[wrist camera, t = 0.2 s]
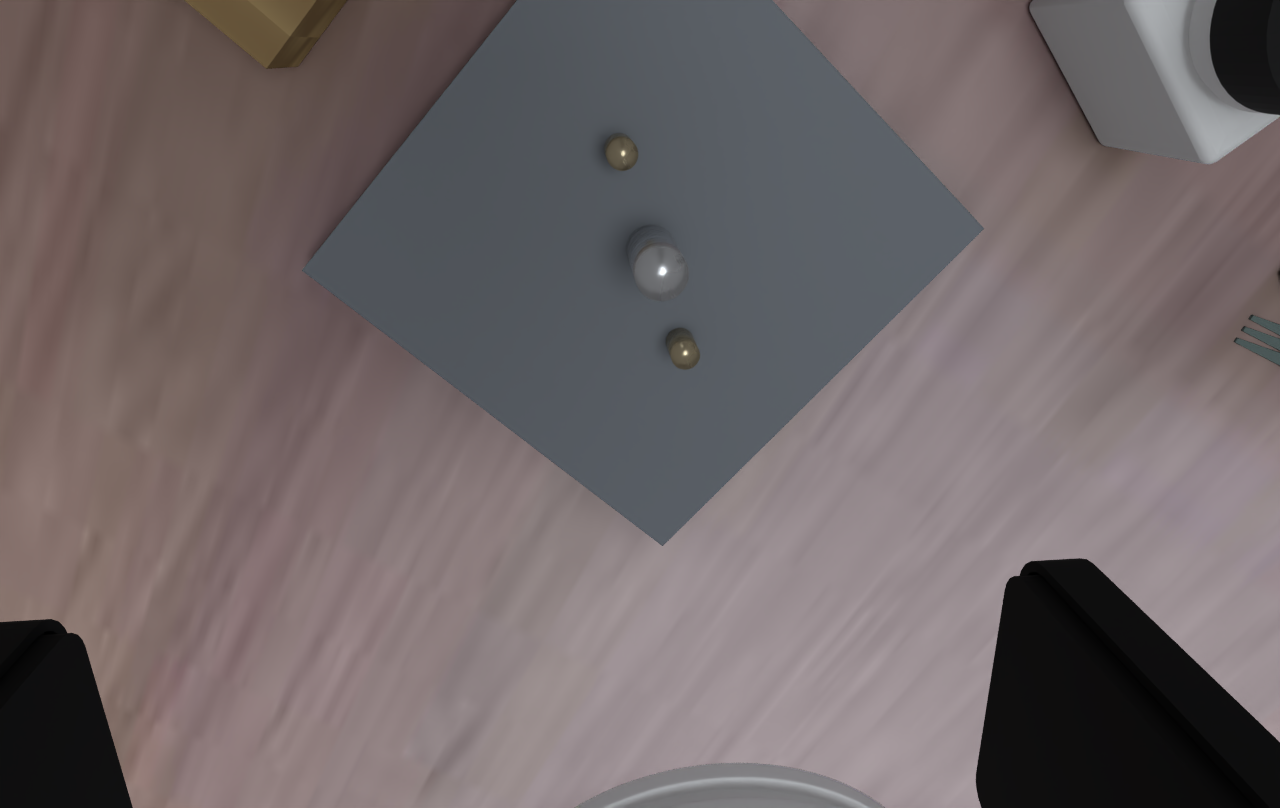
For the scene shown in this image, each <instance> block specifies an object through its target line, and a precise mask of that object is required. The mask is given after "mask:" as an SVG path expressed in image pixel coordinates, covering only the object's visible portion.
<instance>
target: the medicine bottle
mask: <svg viewBox="0 0 1280 808" xmlns="http://www.w3.org/2000/svg"><path fill="white" fill-rule="evenodd" d="M1029 9H1030V13H1031V15H1032V16H1033V18H1034V20H1035V22H1036V24H1037V26H1038V28H1039V30H1040V31H1041V33H1042V35H1043V37H1044V39H1045V41H1046V43H1047V45H1048V46H1049V48H1050V50H1051V52H1052V54H1053V56H1054V58H1055V60H1056V62H1057V63H1058V65H1059V67H1060V69H1061V71H1062V73H1063V75H1064V77H1065V78H1066V80H1067V82H1068V84H1069V86H1070V88H1071V90H1072V92H1073V93H1074V95H1075V97H1076V99H1077V101H1078V103H1079V105H1080V107H1081V108H1082V110H1083V112H1084V114H1085V116H1086V118H1087V120H1088V122H1089V123H1090V125H1091V127H1092V129H1093V131H1094V133H1095V135H1096V137H1097V138H1098V140H1099V142H1100V143H1101V144H1102V145H1103V146H1108V147H1114V148H1119V149H1125V150H1130V151H1136V152H1142V153H1147V154H1153V155H1158V156H1164V157H1169V158H1175V159H1180V160H1186V161H1191V162H1197V163H1203V164H1212V163H1215V162H1217V161H1218V160H1220V159H1221V158H1222V157H1224V156H1225V155H1227V154H1228V153H1230V152H1231V151H1232V150H1234V149H1235V148H1237V147H1238V146H1239V145H1241V144H1242V143H1244V142H1245V141H1246V140H1248V139H1249V138H1251V137H1252V136H1253V135H1255V134H1256V133H1258V132H1259V131H1261V130H1262V129H1263V128H1265V127H1266V126H1268V125H1269V124H1270V123H1272V122H1273V121H1275V120H1276V119H1277V118H1279V117H1280V0H1032V2H1031V3H1030V6H1029Z"/></svg>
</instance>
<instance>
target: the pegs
mask: <svg viewBox="0 0 1280 808" xmlns="http://www.w3.org/2000/svg"><path fill="white" fill-rule="evenodd" d="M604 153H605V156H606V158H607V160H608V163H609V164H610V165H611V167H613V168H614V169H616V170H619V171H626V170H629V169H631V168H632V167H633V166H634V165H635V164H636V162H637V160H638V149H637V147H636V145H635V144H634V142H633V141H632V140H631V138H630V137H629V136H627V135H625V134H623V133H616V134H613V135H611V136H610V137H609V138H608V139H607V140H606V142H605V145H604ZM627 256H628V259H629V262H630V266H631V269H632V272H633V275H634V278H635V282H636V284H637V287H638V289H639V290H640V291H641V293H642V294H643V295H645V296H646V297H648V298H649V299H652V300H655V301H667V300H671V299H673V298H675V297H677V296H678V295H679V294H680V293H681V292H682V291H683V290H684V289H685V287H686V285H687V283H688V279H689V268H688V265H687V262H686V260H685V259H684V257H683V255H682V253H681V252H680V250H679V248H678V247H677V245H676V243H675V241H674V240H673V238H672V236H671V235H670V233H669V232H668V231H667V230H665V229H664V228H662V227H660V226H657V225H645V226H642V227H640V228H638V229H637V230H635V231H634V232H633V233H632V235H631V236H630V238H629V240H628V243H627ZM666 346H667V349H668V351H669V354H670V357H671V360H672V362H673V364H674V365H675V366H676V367H677V368H679V369H683V370H687V369H691V368H693V367H694V366H695V365H696V364H697V363H698V361H699V359H700V351H699V349H698V347H697V344H696V342H695V340H694V338H693V336H692V334H691V332H690V331H689V330H687V329H685V328H675V329H673V330H671V331H670V332H669V333H668V335H667V337H666Z"/></svg>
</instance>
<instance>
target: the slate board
mask: <svg viewBox="0 0 1280 808" xmlns="http://www.w3.org/2000/svg"><path fill="white" fill-rule="evenodd" d="M616 133H623V134H625V135H627V136H629V137H630V138H631V140H632V141H633V142H634V144H635V145H636V147H637V149H638V160H637V162H636V164H635V165H634V166H633V167H632V168H631V169H629V170H626V171H619V170H616V169H614V168H613V167H611V165H610V164H609V163H608V160H607V158H606V156H605V153H604V145H605V142H606V140H607V139H608V138H609V137H610V136H611V135H613V134H616ZM645 225H657V226H660V227H662V228H664V229H665V230H667V231H668V232H669V233H670V235H671V236H672V238H673V240H674V241H675V243H676V245H677V247H678V248H679V250H680V252H681V253H682V255H683V257H684V259H685V260H686V262H687V265H688V268H689V279H688V283H687V285H686V287H685V289H684V290H683V291H682V292H681V293H680V294H679V295H678V296H677V297H675V298H673V299H671V300H667V301H655V300H652V299H649V298H648V297H646V296H645V295H643V294H642V293H641V291H640V290H639V289H638V287H637V284H636V282H635V278H634V275H633V272H632V269H631V266H630V262H629V259H628V256H627V243H628V240H629V238H630V236H631V235H632V233H633V232H634V231H635V230H637V229H638V228H640V227H642V226H645ZM983 229H984V228H983V227H982V226H981V225H980V224H979V223H978V222H977V220H976V219H975V218H974V217H973V216H972V215H971V214H970V213H969V212H968V211H967V210H966V209H965V207H964V206H963V205H962V204H961V203H960V202H959V201H958V200H957V199H956V198H955V197H954V196H953V195H952V193H951V192H950V191H949V190H948V189H947V188H946V187H945V186H944V185H943V184H942V183H941V182H940V181H939V179H938V178H937V177H936V176H935V175H934V174H933V173H932V172H931V171H930V170H929V169H928V168H927V167H926V165H925V164H924V163H923V162H922V161H921V160H920V159H919V158H918V157H917V156H916V155H915V154H914V153H913V151H912V150H911V149H910V148H909V147H908V146H907V145H906V144H905V143H904V142H903V141H902V140H901V139H900V137H899V136H898V135H897V134H896V133H895V132H894V131H893V130H892V129H891V128H890V127H889V126H888V125H887V123H886V122H885V121H884V120H883V119H882V118H881V117H880V116H879V115H878V114H877V113H876V112H875V111H874V109H873V108H872V107H871V106H870V105H869V104H868V103H867V102H866V101H865V100H864V99H863V98H862V97H861V95H860V94H859V93H858V92H857V91H856V90H855V89H854V88H853V87H852V86H851V85H850V84H849V83H848V81H847V80H846V79H845V78H844V77H843V76H842V75H841V74H840V73H839V72H838V71H837V70H836V69H835V67H834V66H833V65H832V64H831V63H830V62H829V61H828V60H827V59H826V58H825V57H824V56H823V55H822V53H821V52H820V51H819V50H818V49H817V48H816V47H815V46H814V45H813V44H812V43H811V42H810V41H809V39H808V38H807V37H806V36H805V35H804V34H803V33H802V32H801V31H800V30H799V29H798V28H797V27H796V25H795V24H794V23H793V22H792V21H791V20H790V19H789V18H788V17H787V16H786V15H785V14H784V12H783V11H782V10H781V9H780V8H779V7H778V6H777V5H776V4H775V3H774V2H773V1H772V0H517V1H516V2H515V3H514V5H513V6H512V7H511V8H510V10H509V11H508V12H507V14H506V15H505V16H504V17H503V19H502V20H501V21H500V22H499V24H498V25H497V26H496V27H495V29H494V30H493V31H492V32H491V34H490V35H489V36H488V37H487V39H486V40H485V41H484V42H483V44H482V45H481V46H480V47H479V49H478V50H477V51H476V52H475V54H474V55H473V56H472V57H471V59H470V60H469V61H468V62H467V64H466V65H465V66H464V68H463V69H462V70H461V71H460V73H459V74H458V75H457V76H456V78H455V79H454V80H453V81H452V83H451V84H450V85H449V86H448V88H447V89H446V90H445V91H444V93H443V94H442V95H441V96H440V98H439V99H438V100H437V101H436V103H435V104H434V105H433V106H432V108H431V109H430V110H429V111H428V113H427V114H426V115H425V116H424V118H423V119H422V120H421V122H420V123H419V124H418V125H417V127H416V128H415V129H414V130H413V132H412V133H411V134H410V135H409V137H408V138H407V139H406V140H405V142H404V143H403V144H402V145H401V147H400V148H399V149H398V150H397V152H396V153H395V154H394V155H393V157H392V158H391V159H390V160H389V162H388V163H387V164H386V165H385V167H384V168H383V169H382V170H381V172H380V173H379V174H378V175H377V177H376V178H375V179H374V181H373V182H372V183H371V184H370V186H369V187H368V188H367V189H366V191H365V192H364V193H363V194H362V196H361V197H360V198H359V199H358V201H357V202H356V203H355V204H354V206H353V207H352V208H351V209H350V211H349V212H348V213H347V214H346V216H345V217H344V218H343V219H342V221H341V222H340V223H339V224H338V226H337V227H336V228H335V229H334V231H333V232H332V233H331V235H330V236H329V237H328V238H327V240H326V241H325V242H324V243H323V245H322V246H321V247H320V248H319V250H318V251H317V252H316V253H315V255H314V256H313V257H312V258H311V260H310V261H309V262H308V263H307V265H306V266H305V267H304V268H303V270H302V271H303V272H305V273H306V274H307V275H309V276H310V277H311V278H313V279H314V280H315V281H316V282H318V283H319V284H320V285H322V286H323V287H324V288H326V289H327V290H328V291H330V292H331V293H332V294H333V295H335V296H336V297H337V298H339V299H340V300H341V301H343V302H344V303H345V304H347V305H348V306H349V307H350V308H352V309H353V310H354V311H356V312H357V313H358V314H360V315H361V316H362V317H364V318H365V319H366V320H367V321H369V322H370V323H371V324H373V325H374V326H375V327H377V328H378V329H379V330H381V331H382V332H383V333H384V334H386V335H387V336H388V337H390V338H391V339H392V340H394V341H395V342H396V343H398V344H399V345H400V346H401V347H403V348H404V349H405V350H407V351H408V352H409V353H411V354H412V355H413V356H415V357H416V358H417V359H419V360H420V361H421V362H422V363H424V364H425V365H426V366H428V367H429V368H430V369H432V370H433V371H434V372H436V373H437V374H438V375H439V376H441V377H442V378H443V379H445V380H446V381H447V382H449V383H450V384H451V385H453V386H454V387H455V388H456V389H458V390H459V391H460V392H462V393H463V394H464V395H466V396H467V397H468V398H470V399H471V400H472V401H473V402H475V403H476V404H477V405H479V406H480V407H481V408H483V409H484V410H485V411H487V412H488V413H489V414H490V415H492V416H493V417H494V418H496V419H497V420H498V421H500V422H501V423H502V424H504V425H505V426H506V427H507V428H509V429H510V430H511V431H513V432H514V433H515V434H517V435H518V436H519V437H521V438H522V439H523V440H524V441H526V442H527V443H528V444H530V445H531V446H532V447H534V448H535V449H536V450H538V451H539V452H540V453H541V454H543V455H544V456H545V457H547V458H548V459H549V460H551V461H552V462H553V463H555V464H556V465H557V466H558V467H560V468H561V469H562V470H564V471H565V472H566V473H568V474H569V475H570V476H572V477H573V478H574V479H575V480H577V481H578V482H579V483H581V484H582V485H583V486H585V487H586V488H587V489H589V490H590V491H591V492H593V493H594V494H595V495H596V496H598V497H599V498H600V499H602V500H603V501H604V502H606V503H607V504H608V505H610V506H611V507H612V508H613V509H615V510H616V511H617V512H619V513H620V514H621V515H623V516H624V517H625V518H627V519H628V520H629V521H630V522H632V523H633V524H634V525H636V526H637V527H638V528H640V529H641V530H642V531H644V532H645V533H646V534H647V535H649V536H650V537H651V538H653V539H654V540H655V541H657V542H658V543H659V544H661V545H662V546H663V545H664V544H665V543H666V542H667V541H668V540H669V539H670V538H671V537H672V536H673V535H674V534H675V533H676V532H677V531H678V530H679V529H680V528H681V527H682V526H683V525H684V524H685V523H686V522H687V521H688V520H689V519H691V518H692V517H693V516H694V515H695V514H696V513H697V512H698V511H699V510H700V509H701V508H702V507H703V506H704V505H705V504H706V503H707V502H708V501H709V500H710V499H711V498H712V497H713V496H714V495H715V494H716V493H717V492H718V491H719V490H720V489H721V488H722V487H723V486H724V485H725V484H726V483H727V482H728V481H729V480H730V479H731V478H732V477H733V476H734V475H735V474H736V473H737V472H738V471H739V470H740V469H741V468H742V467H743V466H744V465H745V464H746V463H747V462H748V461H749V460H750V459H751V458H752V457H753V456H754V455H755V454H756V453H757V452H758V451H759V450H760V449H761V448H762V447H763V446H764V445H765V444H766V443H768V442H769V441H770V440H771V439H772V438H773V437H774V436H775V435H776V434H777V433H778V432H779V431H780V430H781V429H782V428H783V427H784V426H785V425H786V424H787V423H788V422H789V421H790V420H791V419H792V418H793V417H794V416H795V415H796V414H797V413H798V412H799V411H800V410H801V409H802V408H803V407H804V406H805V405H806V404H807V403H808V402H809V401H810V400H811V399H812V398H813V397H814V396H815V395H816V394H817V393H818V392H819V391H820V390H821V389H822V388H823V387H824V386H825V385H826V384H827V383H828V382H829V381H830V380H831V379H832V378H833V377H834V376H835V375H836V374H837V373H838V372H839V371H840V370H841V369H842V368H843V367H844V366H846V365H847V364H848V363H849V362H850V361H851V360H852V359H853V358H854V357H855V356H856V355H857V354H858V353H859V352H860V351H861V350H862V349H863V348H864V347H865V346H866V345H867V344H868V343H869V342H870V341H871V340H872V339H873V338H874V337H875V336H876V335H877V334H878V333H879V332H880V331H881V330H882V329H883V328H884V327H885V326H886V325H887V324H888V323H889V322H890V321H891V320H892V319H893V318H894V317H895V316H896V315H897V314H898V313H899V312H900V311H901V310H902V309H903V308H904V307H905V306H906V305H907V304H908V303H909V302H910V301H911V300H912V299H913V298H914V297H915V296H916V295H917V294H918V293H919V292H920V291H921V290H922V289H924V288H925V287H926V286H927V285H928V284H929V283H930V282H931V281H932V280H933V279H934V278H935V277H936V276H937V275H938V274H939V273H940V272H941V271H942V270H943V269H944V268H945V267H946V266H947V265H948V264H949V263H950V262H951V261H952V260H953V259H954V258H955V257H956V256H957V255H958V254H959V253H960V252H961V251H962V250H963V249H964V248H965V247H966V246H967V245H968V244H969V243H970V242H971V241H972V240H973V239H974V238H975V237H976V236H977V235H978V234H979V233H980V232H981V231H982V230H983ZM675 328H685V329H687V330H689V331H690V332H691V334H692V336H693V338H694V340H695V342H696V344H697V347H698V349H699V351H700V359H699V361H698V363H697V364H696V365H695V366H694V367H693V368H691V369H687V370H683V369H679V368H677V367H676V366H675V365H674V364H673V362H672V360H671V357H670V354H669V351H668V349H667V346H666V337H667V335H668V333H669V332H670V331H671V330H673V329H675Z"/></svg>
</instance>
